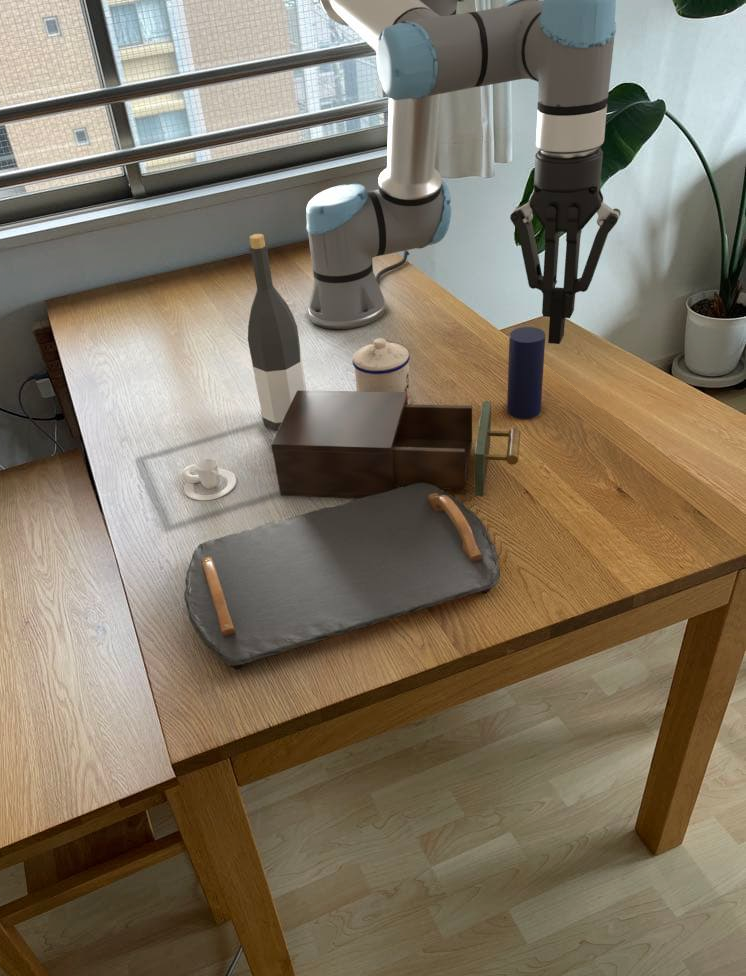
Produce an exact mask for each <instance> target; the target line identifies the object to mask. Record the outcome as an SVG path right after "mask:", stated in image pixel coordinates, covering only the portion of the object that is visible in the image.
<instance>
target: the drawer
mask: <svg viewBox="0 0 746 976" xmlns="http://www.w3.org/2000/svg"><path fill="white" fill-rule="evenodd" d="M491 429H492V401H490V400H489V401H487V400H486V401H485V400H483V401H482V402H481V411H480V415H479V422H478V428H477V436H476V442H475V449H474V478H473V479H474V481H473V482H474V489H473V490H474V492H473V493H474V495H473V496H474V497H484V494H485V486H486V478H487V471H488V462H489V461H499V462H500V461H503V462H504V461H506V463H507V464H508V465H510V466H514V465H517V464H518V463H519V457H520V456H519V455H520V445H521V444H520V443H521V430H520V428H518V427H512V428H510V429H509V430H491ZM491 437H501V438H502V437H504V438H506V437H507V449H506V454H490V447H491ZM472 446H473V405H467V404H465V405H463V404H462V405H461V404H417V403H416V404H415V403H413V404H411V403H410V404H405V408H404V411H403V415H402V418H401V422H400V425H399V428H398V432H397V435H396V439H395V442H394V446H393V449H392V452H393V466H394V480H395V487H398V488H402V487H405V486H409V485H412V484H416V483H423V482H424V483H427V484H431V485H434V486H437V487H438V488H439V489H440V490H457V491H465V489H466V485H467V479H468V478H467V477H468V471H469V464H470V459H471V453H472Z"/></svg>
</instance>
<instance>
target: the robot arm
mask: <svg viewBox="0 0 746 976" xmlns="http://www.w3.org/2000/svg"><path fill="white" fill-rule="evenodd" d="M316 1H317V3H318V4H319V7H320V8H321V9H322V11H323V12H324V13H325V14H326V16H328V17H329V19H331V20H332V21H333V22H335V23H337V24H339V25H340V26H341V25H342V26H347V27H350V28H351V30H353V31H354V32H355V33H356V34H357V35H358V36H359V37H360V38H361V39H362V40H363V41H364V42H365V43H366V44H367V45H368V46H369V47H370V48H371V49H372V50H373V51H374V52H375V54H376V56H375V59H376V67H377V68H376V69H377V74H378V79H379V82H380V84H381V87H382V91H383V93H384V94H385V96H387V97H388V112H387V113H388V114H387V115H388V116H387V118H388V119H387V151H386V152H387V153H386V157H387V158H386V167H385V168H384V169H383V170H382V171H381V172H380V174H379V176H378V183H377V184H378V185H377V186H378V187H377V189H374V190H369V191H368V189H367V188H366V187H365V186H364V184H359V183H350V184H346V183H344V184H340V185H336V186H335V185H334V186H332V187H329V188H327V189H324V190H321V191H320V192H319V193H317V194H315V195H314V196H313V197H312V198H311V199H310V200H309V201H308V203H307V205H306V210H305V215H306V229H305V230H306V232H307V235H308V243H309V251H310V259H311V266H312V275H313V282H312V287H311V293H310V297H309V303H308V316H309V319H310V322H312V323H313V324H314V325H316V326H318V327H320V328H324V329H330V330H349V329H356V328H360V327H364V326H368V325H370V324H373V323H374V322H376V321H378V320H379V319H380V318H381V317H383V316H384V314H385V312H386V302H385V297H384V295H383V292H382V290H381V287H380V285H379V280H380V278H381V277H382V275H384V274H385V273H387V272H390V271H392V270H395V269H397V268H399V267H401V266H403V265H404V264H405V263H406V262H407V259H408V256H409V255H410V252H409V251H410V250H415V249H419V250H420V249H424V248H426V247H428V246H432V245H436V244H438V243H439V242H441V241H442V240H443V239H444V238H445V237H446V235H447V233H448V231H449V229H450V223H451V218H452V206H451V193H450V190H449V187H448V185H447V183H446V182H445V180H444V179H442V175H441V174H440V172H439V171H438V170H437V169H436V168H435V167H436V153H437V141H438V140H437V139H438V127H439V113H440V101H441V94H447V93H452V92H457V91H462V90H468V89H473V88H481V87H486V86H490V85H491V86H492V85H496V84H503V83H508V82H514V81H519V80H532V81H535V82H537V83H538V85H537V86H538V89H537V90H538V91H537V112H536V129H535V130H536V132H535V147H536V148H537V149H538V150H537V152H536V154H535V155H534V158H535V159H534V177H533V180H534V181H533V190H532V193H531V194H530V196H529V199H528V201H527V202H526V203H525V204H523V205H518V206H516V207H515V208H514V210H513V211H512V212H511V213H510V216H509V219H510V221H511V223H512V224H513V226H514V228H515V229H516V231H517V234H518V238H519V239H518V240H519V243H520V248H521V253H522V259H523V264H524V268H525V269H524V270H525V273H526V279H527V284H528V287H529V288H530V289H533V290H534V289H537V290H539V291H541V293H542V307H541V314H542V316H543V317H547V318H549V323H548V324H549V325H548V337H547V338H548V339H547V340H548V341H547V343H548V344H555V345H560V344H561V342H562V341H563V338H564V336H565V326H566V319H571V317H572V315H573V313H574V311H575V304H576V303H575V302H576V294H577V293H580V292H581V293H584V292H587V291H588V289H589V287H590V285H591V283H592V280H593V278H594V275H595V272H596V269H597V267H598V263H599V261H600V258H601V255H602V252H603V251H604V247H605V244H606V242H607V239H608V236H609V233H610V232H611V231H612V229H613V228H614V227H615V226H616V224H617V223H618V221H619V219H620V217H621V214H622V213H621V210H620V209H619V208H613V209H612V207H610V206H609V205H607V203H605V202H604V196H603V195H604V194H603V193H602V191H601V176H602V167H603V157H604V151H603V150H602V148H601V146H602V145H603V144H604V142H605V134H606V122H607V111H608V98H609V93H610V92H609V91H610V82H611V73H612V65H613V64H612V63H613V61H612V60H613V54H614V45H615V37H616V32H617V25H616V9H617V8H616V7H617V0H511V1H509V2H506V3H504V5H502V6H500V7H499V6H498V7H494V8H487V9H482V10H477V11H470V12H463V13H457V7H458V2H460V3H463V2H465V0H316ZM533 213H534V214H533ZM596 214H597V219H596V224H597V226H599V227H598V230H597V232H596V234H595V236H594V240H593V242H592V245H591V248H590V251H589V254H588V256H587V260H586V263H585V266H584V269H583V271H582V274H581V277H578V273H579V263H580V261H579V260H580V247H581V236H582V231H583V229H584V228H585V227H586V225H587V224H588V223H589V222H590V221H591V219H592V218H593V217H594V216H595V215H596ZM534 216H536V217H535V218H537V220H538V222H539V223H540V225H541V226H542V227H543V228H544V243H545V244H544V255H543V257H544V259H543V273H542V266H541V261H540V256H539V252H538V246H537V241H536V237H535V231H534V225H533V223H532V220H533V218H534ZM561 232H563V233H566V234H565V235H566V236H565V243H566V247H565V261H564V275H563V287H557V286H556V285H557V283H558V280H557V276H558V264H559V263H558V262H559V250H560V249H559V246H560V235H561ZM401 252H403V257H402V259H401V260H400V261H399V262H397V263H395V264H392V265H389V266H387V267H385V268H383V269H380V271H378V272H377V274H375V273H374V267H373V265H374V264H373V258H376V257H381V256H386V255H390V254H395V253H401Z"/></svg>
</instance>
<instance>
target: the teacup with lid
mask: <svg viewBox="0 0 746 976" xmlns="http://www.w3.org/2000/svg"><path fill="white" fill-rule="evenodd" d="M410 356H411V355H410V353H409V351H408V350H407V348H406V347H404V346H403V345H401V344H399V343H395V342H387V340H386V339H385V338H382V337H378V338H375V339H374V340H373V342H372V343H370V344H366V345H365V346H362V347H360V348H359V349H358V350H357V351H355V353H354V354H353V357H352V361H351V363H352V365H353V367H354V377H355V386H356V388H355V389H356V391H364V392H407V398H408V404H411V385H410V369H409V366H410V365H409V363H410V358H411V357H410Z"/></svg>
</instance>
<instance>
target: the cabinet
mask: <svg viewBox="0 0 746 976" xmlns="http://www.w3.org/2000/svg"><path fill="white" fill-rule="evenodd" d="M405 404H408V398H407V392H364V391H357V390H355V391H354V390H353V391H351V390H306V391H300V390H298V391H297V392H296V394H295V396H294V398H293V400H292V403H291V405H290V407H289V409H288V411H287V413H286V415H285V417H284V419H283V421H282V423H281V425H280V427H279V429H278V431H276V433H275V435H274V437H273V439H272V442H271V443H270V447H271V452H272V456H273V463H274V466H275V473H276V479H277V484H278V489H279V494H280V496H292V497H312V498H315V497H316V498H332V499H333V498H334V499H354V500H357V499H360V498H364V497H366V496H371V495H375V494H379V493H383V492H388V491H391V490H393V489H396V488H399V487H395V480H394V466H393V452H392V449H393V446H394V442H395V439H396V435H397V432H398V428H399V425H400V422H401V418H402V415H403V411H404V408H405Z"/></svg>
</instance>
